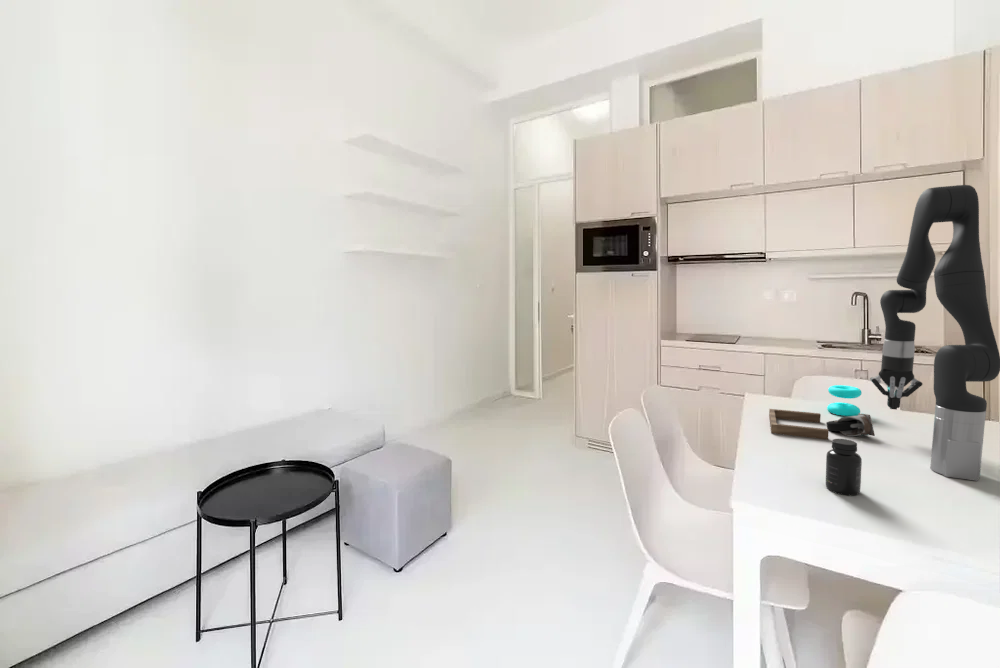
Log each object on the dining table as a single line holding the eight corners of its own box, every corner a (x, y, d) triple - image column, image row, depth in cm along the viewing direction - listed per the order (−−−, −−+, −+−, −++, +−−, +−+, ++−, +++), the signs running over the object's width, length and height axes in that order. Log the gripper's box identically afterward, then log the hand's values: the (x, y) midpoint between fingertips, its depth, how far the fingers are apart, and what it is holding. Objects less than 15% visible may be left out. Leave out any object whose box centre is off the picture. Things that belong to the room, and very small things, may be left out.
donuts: (857, 391, 167) (824, 387, 174) (855, 419, 168) (823, 413, 176) (865, 387, 173) (833, 383, 181) (863, 413, 174) (831, 408, 182)
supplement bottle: (845, 483, 116) (848, 436, 115) (867, 495, 109) (871, 446, 108) (818, 484, 116) (820, 437, 115) (838, 496, 109) (842, 447, 108)
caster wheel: (824, 435, 159) (856, 432, 157) (841, 439, 148) (877, 435, 146) (820, 415, 160) (852, 412, 158) (837, 418, 149) (872, 414, 147)
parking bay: (828, 439, 147) (828, 430, 147) (771, 433, 154) (771, 424, 154) (819, 421, 166) (820, 413, 165) (769, 416, 173) (769, 408, 173)
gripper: (874, 355, 145) (869, 409, 147) (930, 357, 139) (924, 414, 141) (868, 351, 151) (864, 403, 154) (921, 353, 145) (916, 408, 147)
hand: (893, 408), depth 147 cm, fingers closed
